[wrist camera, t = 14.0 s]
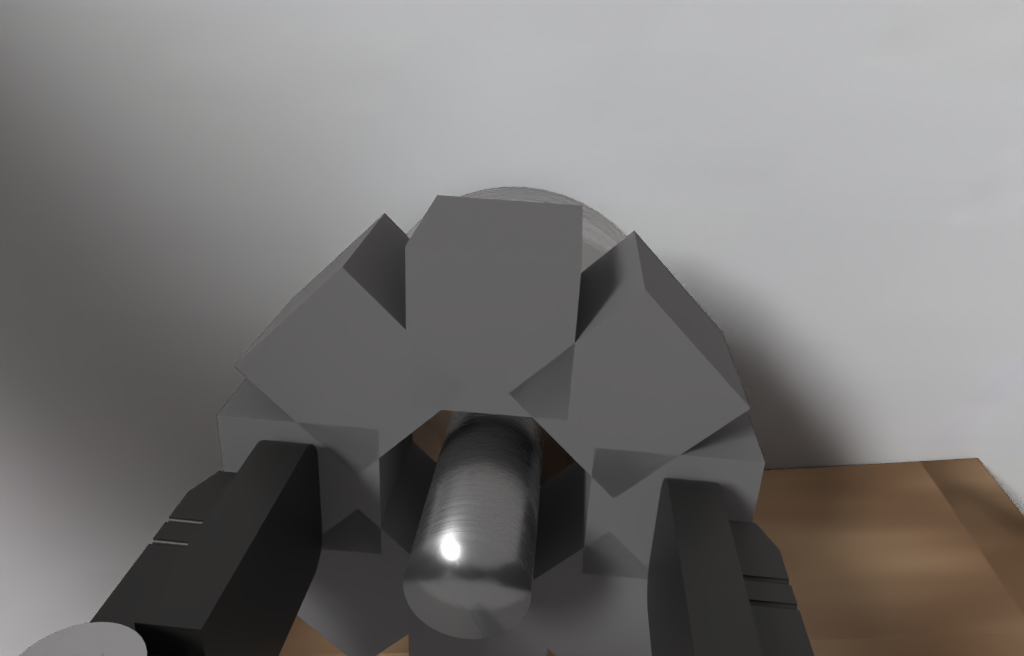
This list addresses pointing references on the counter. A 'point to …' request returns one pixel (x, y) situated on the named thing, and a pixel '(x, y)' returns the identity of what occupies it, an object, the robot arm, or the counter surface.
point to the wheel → (496, 390)
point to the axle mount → (487, 492)
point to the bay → (878, 560)
